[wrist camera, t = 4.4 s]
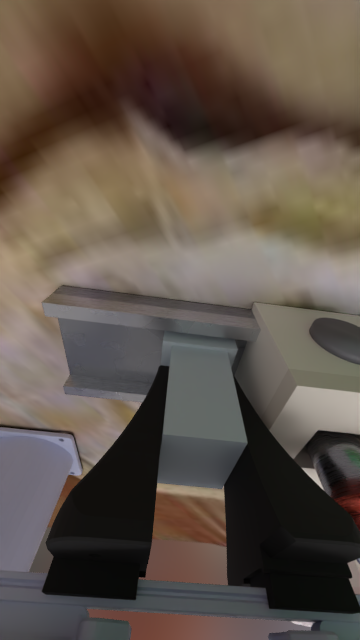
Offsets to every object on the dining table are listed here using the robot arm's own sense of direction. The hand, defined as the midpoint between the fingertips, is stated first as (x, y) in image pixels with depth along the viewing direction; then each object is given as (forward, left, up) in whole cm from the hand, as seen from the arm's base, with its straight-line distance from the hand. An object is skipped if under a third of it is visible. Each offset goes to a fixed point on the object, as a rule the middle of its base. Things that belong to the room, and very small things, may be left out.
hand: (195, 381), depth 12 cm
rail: (-3, 0, -3) cm, 4 cm away
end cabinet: (+6, 0, -3) cm, 7 cm away
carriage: (0, 0, -2) cm, 2 cm away
